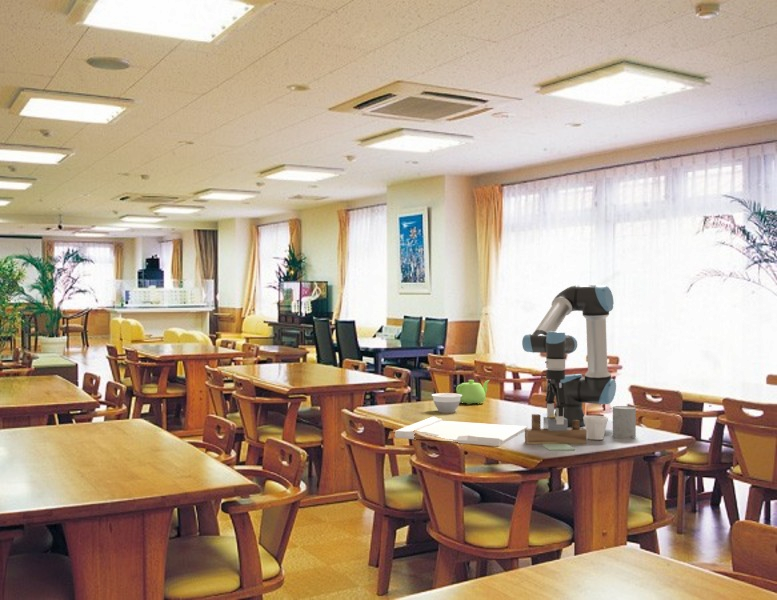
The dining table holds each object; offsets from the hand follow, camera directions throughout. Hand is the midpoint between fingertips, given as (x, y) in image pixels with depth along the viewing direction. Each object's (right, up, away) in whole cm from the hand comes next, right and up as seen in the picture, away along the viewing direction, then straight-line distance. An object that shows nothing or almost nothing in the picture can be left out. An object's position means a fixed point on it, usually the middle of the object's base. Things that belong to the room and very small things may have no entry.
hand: (555, 421), depth 322 cm
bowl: (-37, -9, +90) cm, 97 cm away
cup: (+19, -9, +9) cm, 22 cm away
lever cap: (0, -3, 0) cm, 3 cm away
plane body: (0, -9, 0) cm, 9 cm away
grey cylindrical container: (+33, -9, +15) cm, 37 cm away
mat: (-1, -9, -11) cm, 14 cm away
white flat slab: (-35, -9, +23) cm, 43 cm away
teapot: (-20, -9, +122) cm, 124 cm away
